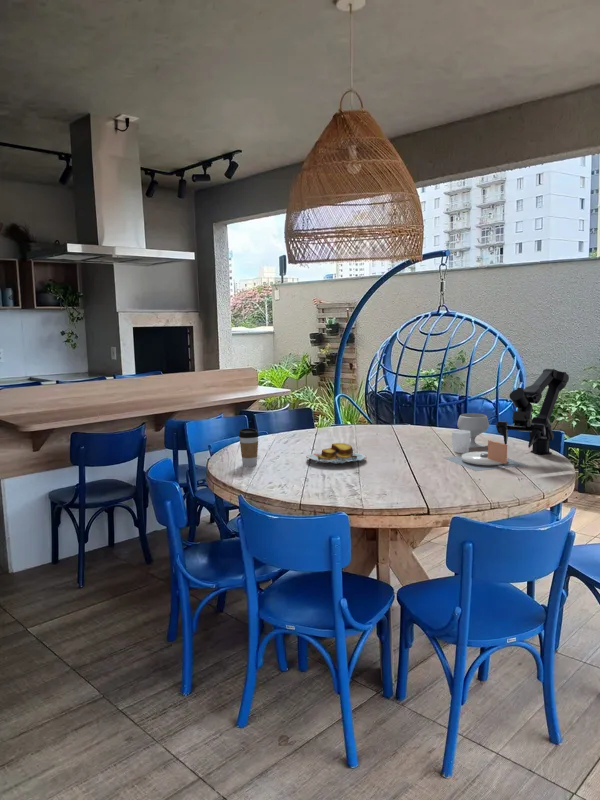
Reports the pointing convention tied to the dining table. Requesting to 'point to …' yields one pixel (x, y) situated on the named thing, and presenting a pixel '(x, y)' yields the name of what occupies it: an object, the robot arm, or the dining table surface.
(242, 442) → the coffee cup
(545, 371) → the robot arm
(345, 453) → the food on plate
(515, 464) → the board
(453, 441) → the white cup
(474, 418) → the chalice
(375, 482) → the dining table surface
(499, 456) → the dial
